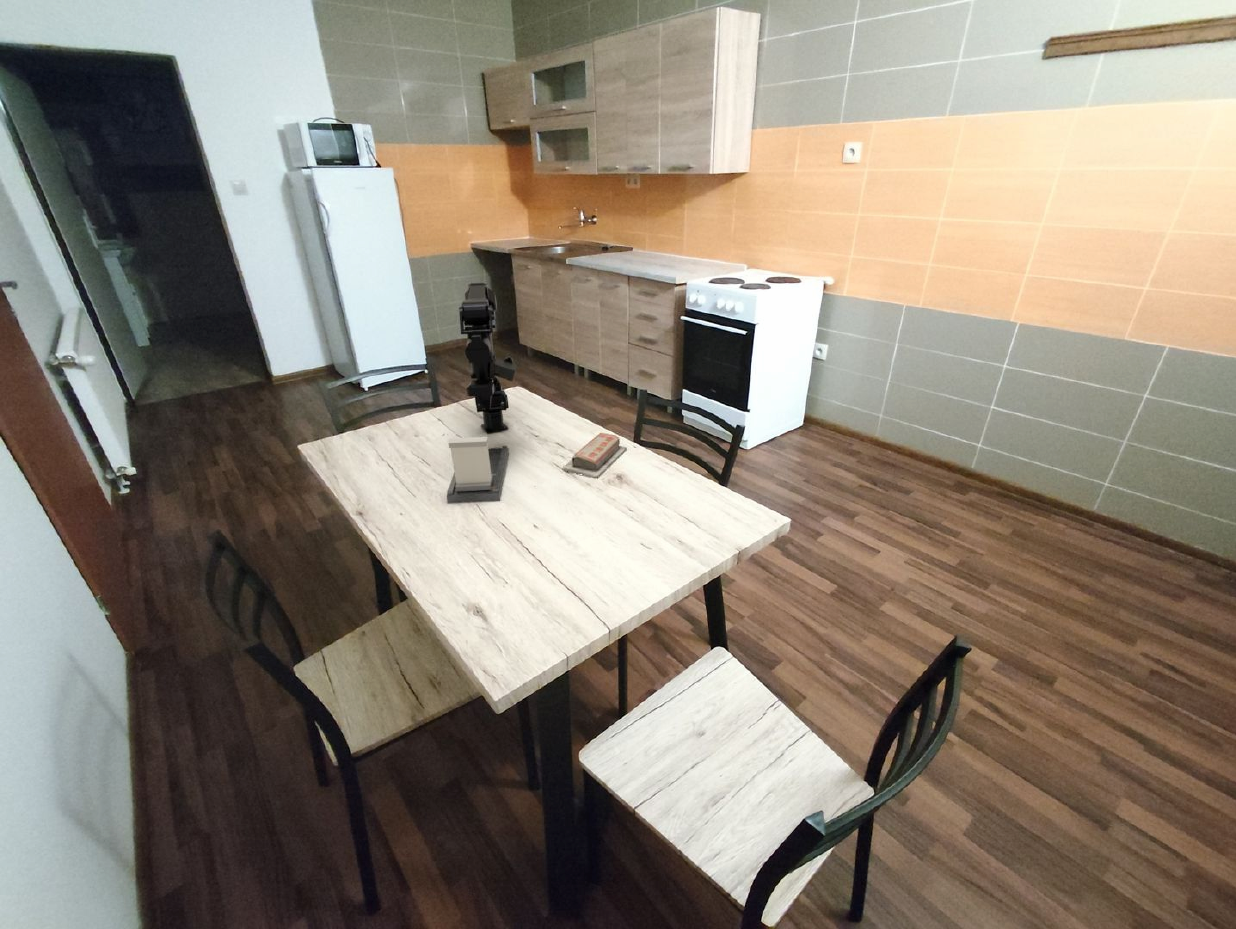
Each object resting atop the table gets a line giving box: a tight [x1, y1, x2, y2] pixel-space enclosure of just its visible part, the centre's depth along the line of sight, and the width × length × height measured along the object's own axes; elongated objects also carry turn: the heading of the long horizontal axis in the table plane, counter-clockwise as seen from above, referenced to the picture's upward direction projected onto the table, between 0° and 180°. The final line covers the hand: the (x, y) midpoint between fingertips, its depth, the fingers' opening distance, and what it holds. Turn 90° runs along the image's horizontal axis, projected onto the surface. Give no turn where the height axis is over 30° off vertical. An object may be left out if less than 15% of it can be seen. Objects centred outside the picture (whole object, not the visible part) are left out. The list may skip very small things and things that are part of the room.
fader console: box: [446, 445, 510, 504], centre depth 142 cm, size 24×12×3 cm, turn 4°
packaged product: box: [562, 432, 628, 479], centre depth 149 cm, size 18×5×10 cm
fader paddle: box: [448, 436, 493, 491], centre depth 131 cm, size 5×8×12 cm, turn 94°
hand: (488, 409), depth 150 cm, fingers closed
